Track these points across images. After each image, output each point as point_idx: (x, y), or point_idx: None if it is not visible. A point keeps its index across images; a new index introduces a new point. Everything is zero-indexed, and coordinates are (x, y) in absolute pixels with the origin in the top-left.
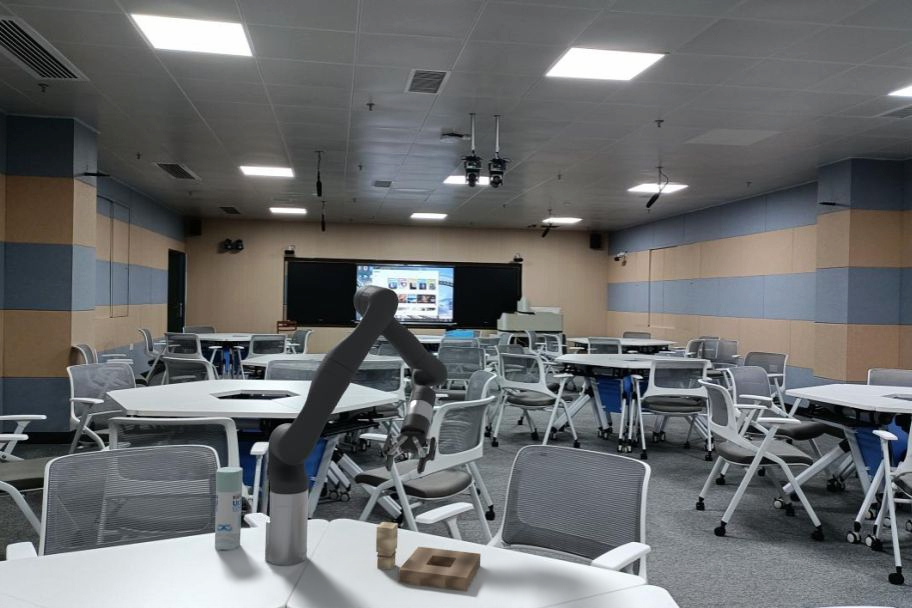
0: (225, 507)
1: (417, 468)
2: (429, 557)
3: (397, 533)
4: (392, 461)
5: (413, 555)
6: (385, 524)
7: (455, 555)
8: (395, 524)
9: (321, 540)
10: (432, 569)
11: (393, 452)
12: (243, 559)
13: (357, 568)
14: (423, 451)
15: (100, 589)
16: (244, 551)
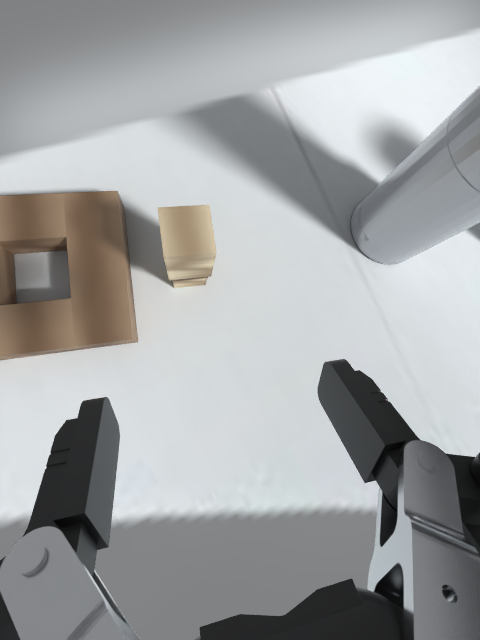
0: None
1: (102, 403)
2: (73, 281)
3: (166, 267)
4: (355, 448)
5: (119, 277)
6: (195, 234)
7: (6, 321)
8: (166, 246)
9: (392, 344)
10: (37, 215)
11: (403, 482)
12: None
13: (238, 239)
14: (28, 635)
15: None
16: (470, 232)
